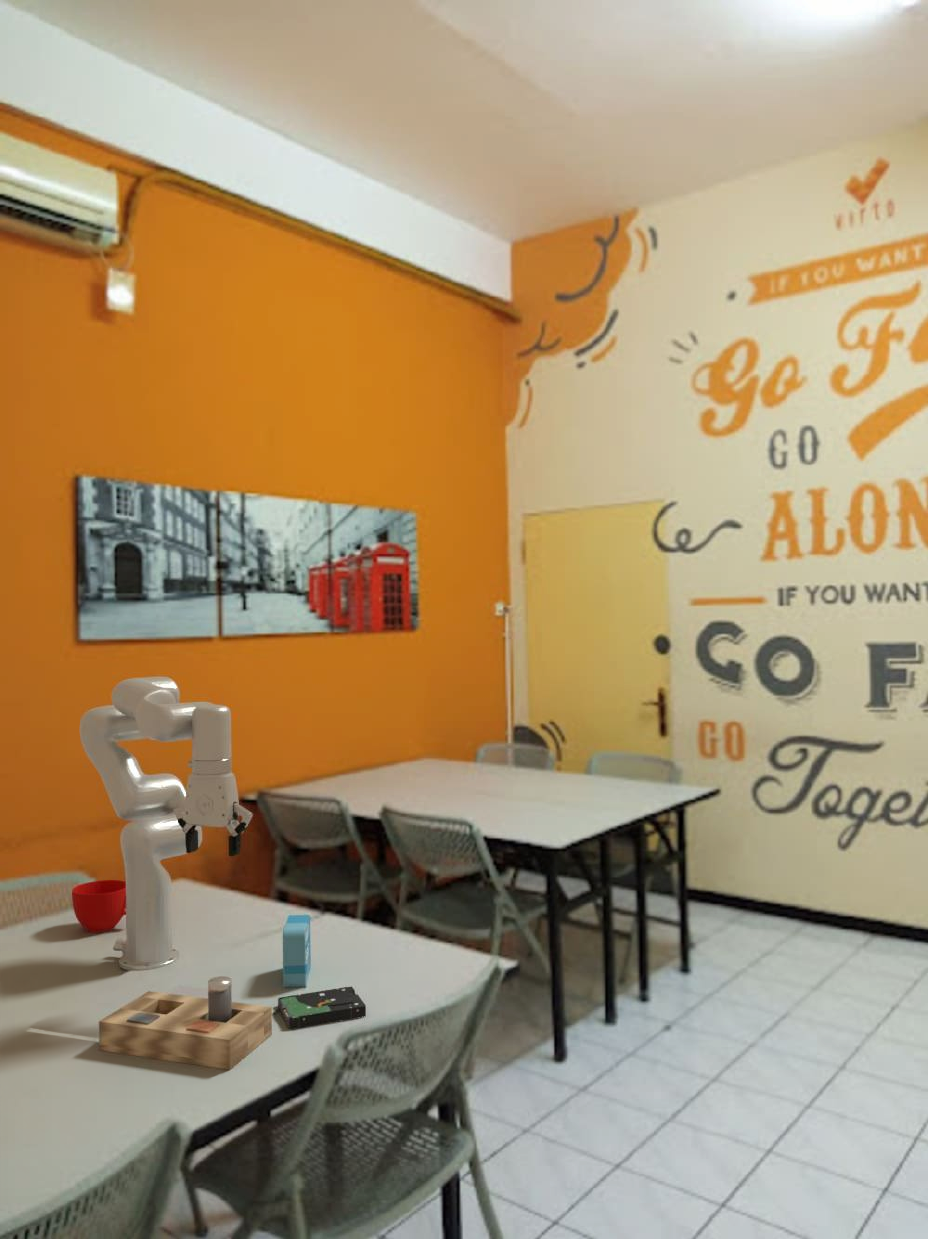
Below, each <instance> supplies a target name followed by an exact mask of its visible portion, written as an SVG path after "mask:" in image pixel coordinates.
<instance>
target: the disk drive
mask: <svg viewBox="0 0 928 1239" xmlns="http://www.w3.org/2000/svg"><path fill="white" fill-rule="evenodd" d="M277 1007H278V1008H277V1010H278V1012H279V1014H280V1016H281V1018H282V1020H283V1022H284V1024H285V1026H286V1028H287V1030H295V1029H301V1028H307V1027H313V1026H318V1025H324V1024H330V1022H331V1023H334V1022H336V1021H337V1022H341V1021H340V1020H342V1021H348V1020H353V1019H354V1018H355V1019H359V1018H358V1017H360V1018H364V1016H365V1017H366V1014H367V1009H366V1008H367V1007H366V1004H365V1002H364V1001H363V1000H362V999H361V997H360V996H359V995H358V994H357V993H356V990H355V988H354V987H353V986H345V987H339V988H332V989H326V990H325V989H324V990H319V991H314V992H307V993H301V994H295V995H294V994H293V995H287V996H281V997H278V998H277ZM362 1016H363V1017H362ZM337 1022H336V1023H337Z"/></svg>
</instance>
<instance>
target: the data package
mask: <svg viewBox="0 0 928 1239" xmlns="http://www.w3.org/2000/svg"><path fill="white" fill-rule="evenodd" d="M311 955H312V954H311V915H310V914H293V915H292V914H291V915H287V919H286V922H285V925H284V928H283V931H282V981H283V982H282V986H283V988H301V987H302V988H306V987H307V983H308V979H309V975H310V971H311V965H312V964H311V962H312V961H311Z"/></svg>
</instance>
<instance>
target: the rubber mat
mask: <svg viewBox="0 0 928 1239" xmlns="http://www.w3.org/2000/svg"><path fill="white" fill-rule="evenodd" d="M166 993H167V994H175V995H183V996H190V997H198V998H206V999H208V988H206V987H205V988H204V987H196V986H187V985H181V984H180V985H179V984H178V985H177V986H175V987H174V988H172V989H170V990H169V991H168V992H166Z"/></svg>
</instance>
